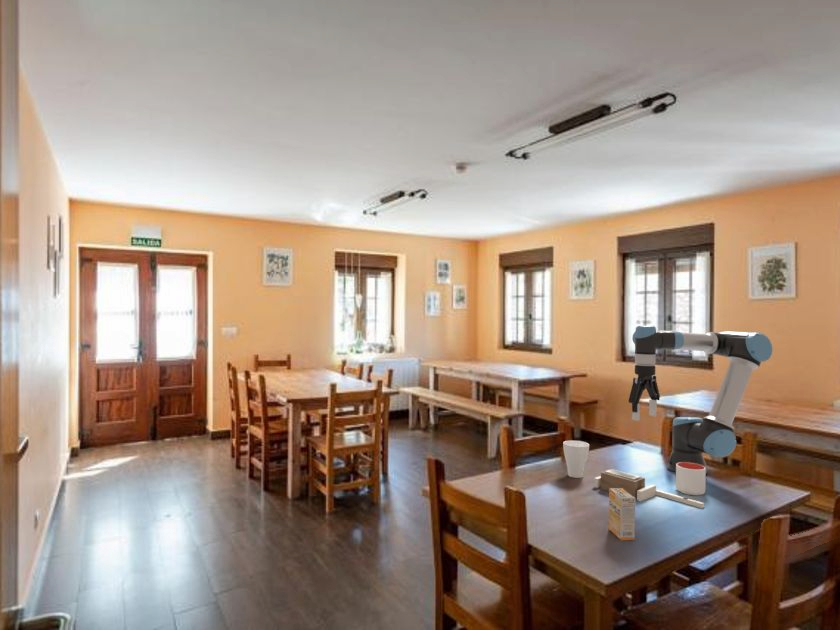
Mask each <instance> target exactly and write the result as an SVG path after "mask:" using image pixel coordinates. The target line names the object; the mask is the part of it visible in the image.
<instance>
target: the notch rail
mask: <svg viewBox="0 0 840 630" xmlns="http://www.w3.org/2000/svg"><path fill="white" fill-rule="evenodd" d="M593 487H594V488H596V489H598V488H601V475H599V476H596V477H594V481H593ZM655 496H659V497H663V498H666V499H668V500H673V501H676V502H679V503H682V504H686V505H689V506H693V507H697V508H699V509H700V508H701V509H704V508H705V503H704V502H702V501H698V500H695V499H691V498H688V497H687V496H680V495H676V494H674V493H670V492H666V491H662V490H660V489H657V485H655V484H650V485H647V486H645V488H642V489H640V490H637V499H636V501H639V502H642V501H645V500H648V499H649V498H651V497H655Z"/></svg>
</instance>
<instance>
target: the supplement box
mask: <svg viewBox="0 0 840 630" xmlns="http://www.w3.org/2000/svg"><path fill="white" fill-rule="evenodd" d="M608 530H609V531H610V532H612V534H613V535H615V536H616V537H617V538H618V539H619V540H620V541H635V539H636V538H635V533H636V532H635V531H636V499H635V497H633V496H632V495H631V494H630V493H628V492H627V491H626V490H624V489H623V488H610V489H609V491H608Z"/></svg>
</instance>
